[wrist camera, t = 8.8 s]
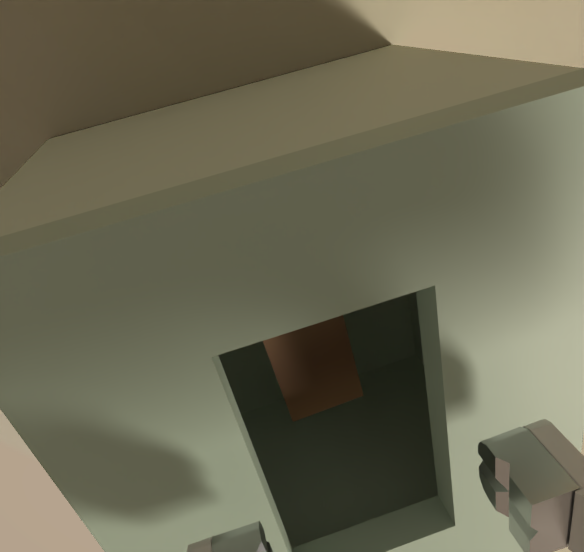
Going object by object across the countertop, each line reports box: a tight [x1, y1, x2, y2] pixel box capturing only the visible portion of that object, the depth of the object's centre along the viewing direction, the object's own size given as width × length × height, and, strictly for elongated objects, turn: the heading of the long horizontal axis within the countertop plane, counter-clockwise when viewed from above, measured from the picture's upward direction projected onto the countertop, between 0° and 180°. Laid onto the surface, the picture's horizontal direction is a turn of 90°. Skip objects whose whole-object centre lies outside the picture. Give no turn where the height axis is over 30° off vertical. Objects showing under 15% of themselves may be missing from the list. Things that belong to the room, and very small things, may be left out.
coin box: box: [0, 45, 584, 552], centre depth 16 cm, size 14×12×10 cm
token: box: [263, 315, 364, 422], centre depth 17 cm, size 5×2×5 cm, turn 15°
